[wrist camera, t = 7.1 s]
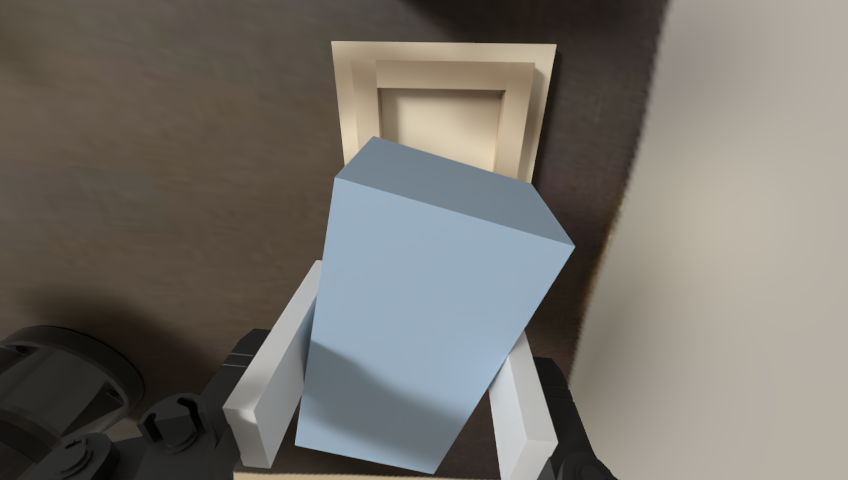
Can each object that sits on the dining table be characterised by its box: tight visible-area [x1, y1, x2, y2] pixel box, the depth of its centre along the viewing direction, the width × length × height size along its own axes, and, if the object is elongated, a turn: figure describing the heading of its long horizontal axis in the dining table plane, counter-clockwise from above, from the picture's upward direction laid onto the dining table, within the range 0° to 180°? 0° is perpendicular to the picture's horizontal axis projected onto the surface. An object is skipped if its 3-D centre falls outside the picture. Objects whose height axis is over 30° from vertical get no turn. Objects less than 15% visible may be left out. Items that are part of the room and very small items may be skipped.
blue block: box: [295, 136, 575, 474], centre depth 12 cm, size 12×6×4 cm, turn 164°
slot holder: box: [331, 41, 557, 184], centre depth 24 cm, size 20×14×3 cm
